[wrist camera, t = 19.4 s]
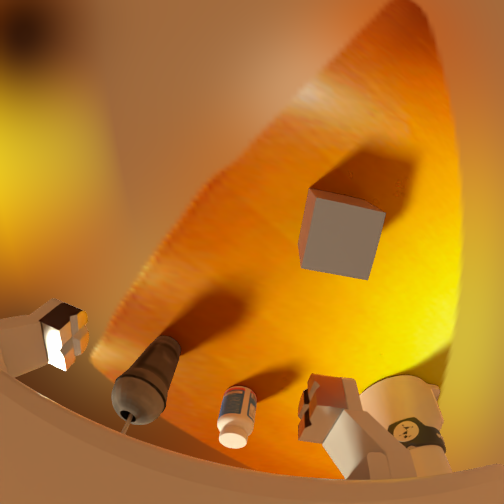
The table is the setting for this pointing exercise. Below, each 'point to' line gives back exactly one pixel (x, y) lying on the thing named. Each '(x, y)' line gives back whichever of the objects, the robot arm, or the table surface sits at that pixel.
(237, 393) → the pill bottle
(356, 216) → the matte grey cube
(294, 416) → the table surface
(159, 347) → the beverage cup
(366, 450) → the robot arm
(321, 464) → the table surface
